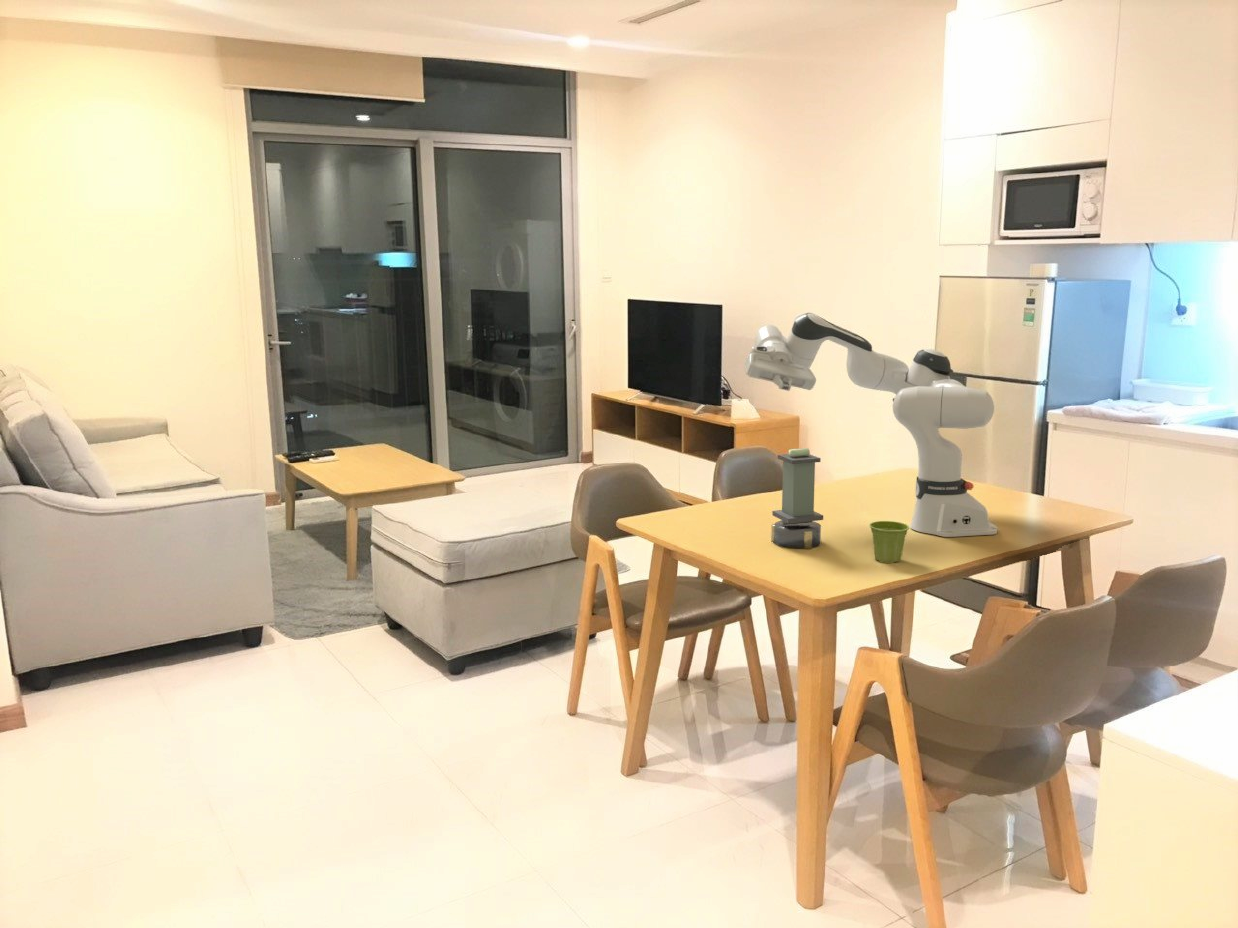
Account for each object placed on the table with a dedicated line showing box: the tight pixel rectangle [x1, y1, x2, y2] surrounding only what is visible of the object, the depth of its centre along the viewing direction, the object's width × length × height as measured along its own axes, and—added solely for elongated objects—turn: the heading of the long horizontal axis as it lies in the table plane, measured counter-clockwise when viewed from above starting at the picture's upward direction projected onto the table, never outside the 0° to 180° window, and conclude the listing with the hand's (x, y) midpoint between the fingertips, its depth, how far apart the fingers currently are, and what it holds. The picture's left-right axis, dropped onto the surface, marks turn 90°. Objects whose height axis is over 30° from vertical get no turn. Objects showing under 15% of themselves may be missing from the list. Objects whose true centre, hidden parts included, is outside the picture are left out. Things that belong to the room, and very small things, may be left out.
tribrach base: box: [770, 520, 822, 550], centre depth 259 cm, size 12×13×5 cm
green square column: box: [771, 447, 824, 525], centre depth 257 cm, size 10×9×20 cm
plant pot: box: [869, 520, 910, 564], centre depth 242 cm, size 9×9×9 cm
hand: (785, 388), depth 273 cm, fingers closed
